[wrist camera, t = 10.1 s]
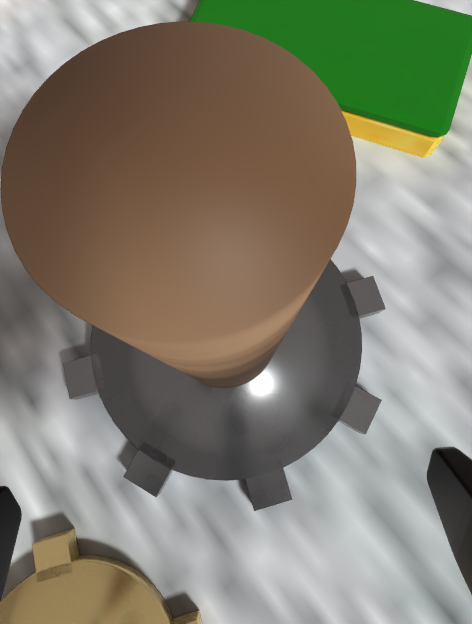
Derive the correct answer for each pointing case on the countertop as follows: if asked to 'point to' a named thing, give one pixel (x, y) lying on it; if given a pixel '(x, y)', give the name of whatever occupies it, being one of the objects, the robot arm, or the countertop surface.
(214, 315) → the walnut axle
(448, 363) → the countertop surface
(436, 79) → the dish sponge
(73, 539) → the brass gear disc
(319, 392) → the steel gear disc
